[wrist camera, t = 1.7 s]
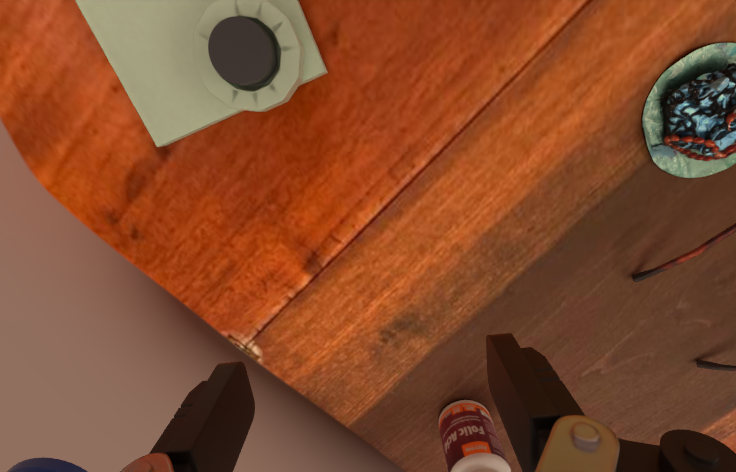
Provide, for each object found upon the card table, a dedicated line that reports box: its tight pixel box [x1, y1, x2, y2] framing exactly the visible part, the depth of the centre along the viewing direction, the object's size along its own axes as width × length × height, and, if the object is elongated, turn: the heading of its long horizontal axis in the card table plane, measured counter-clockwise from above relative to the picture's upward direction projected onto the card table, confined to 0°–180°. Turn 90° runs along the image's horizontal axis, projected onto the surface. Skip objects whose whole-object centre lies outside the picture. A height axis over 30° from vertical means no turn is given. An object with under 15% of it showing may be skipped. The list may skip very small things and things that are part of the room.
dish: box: [642, 43, 736, 178], centre depth 27 cm, size 8×7×8 cm
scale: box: [75, 0, 328, 147], centre depth 25 cm, size 13×12×3 cm
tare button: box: [208, 16, 277, 86], centre depth 23 cm, size 4×4×2 cm
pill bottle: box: [439, 400, 511, 472], centre depth 32 cm, size 5×5×8 cm
